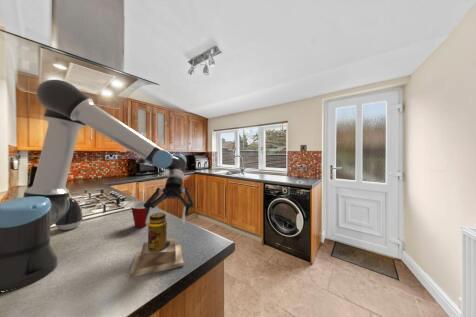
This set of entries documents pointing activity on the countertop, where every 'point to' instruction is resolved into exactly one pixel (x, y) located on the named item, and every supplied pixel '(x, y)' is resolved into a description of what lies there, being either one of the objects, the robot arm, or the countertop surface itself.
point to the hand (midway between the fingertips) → (165, 223)
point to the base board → (156, 268)
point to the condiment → (157, 234)
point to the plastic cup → (139, 214)
